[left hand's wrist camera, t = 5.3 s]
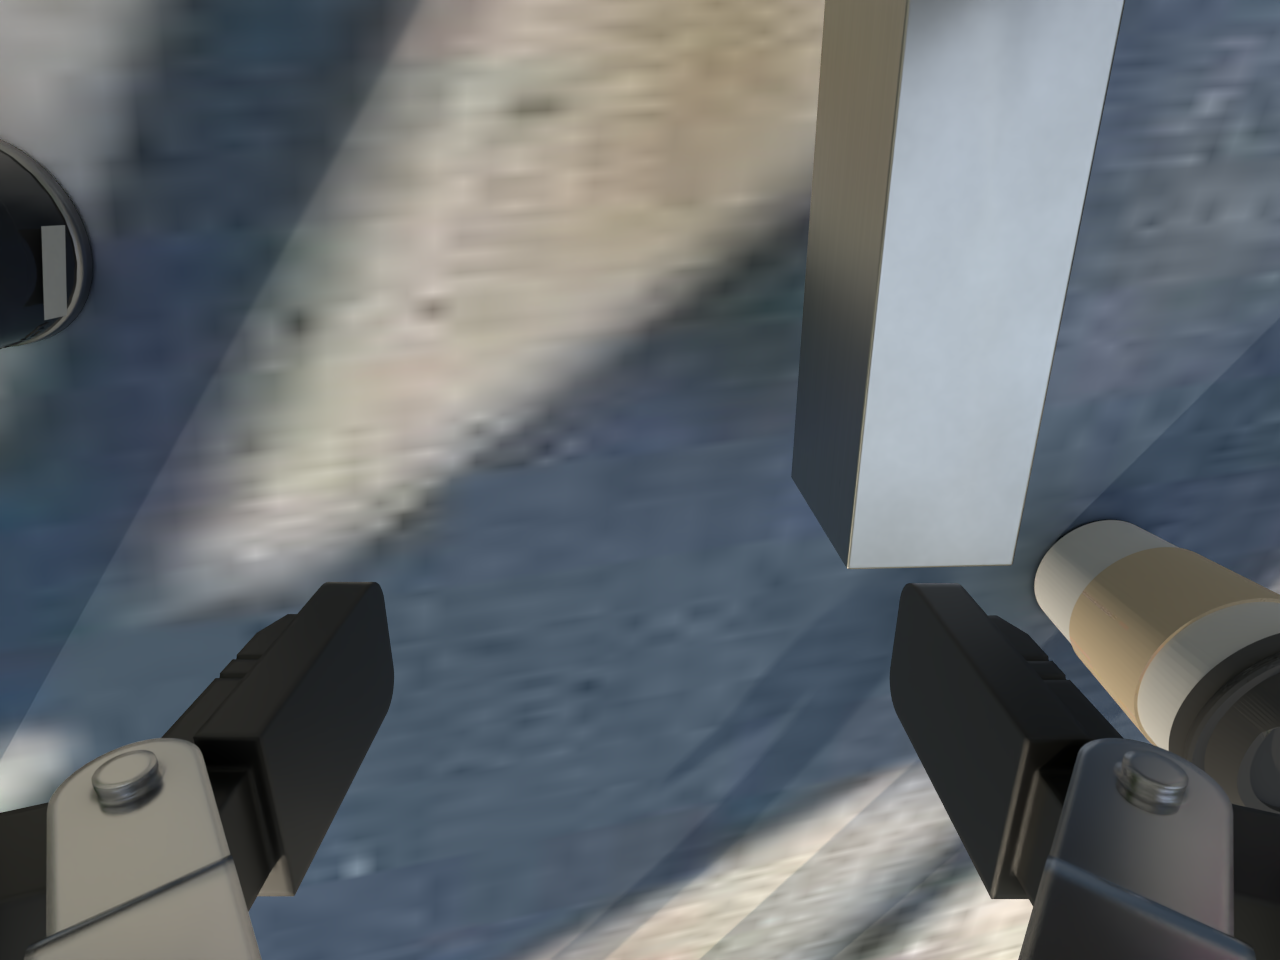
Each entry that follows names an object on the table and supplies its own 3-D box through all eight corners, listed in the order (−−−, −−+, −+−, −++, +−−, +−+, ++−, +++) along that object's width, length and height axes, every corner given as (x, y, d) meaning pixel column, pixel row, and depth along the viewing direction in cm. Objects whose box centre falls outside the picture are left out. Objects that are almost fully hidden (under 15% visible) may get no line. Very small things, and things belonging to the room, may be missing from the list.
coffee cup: (1196, 593, 42) (1484, 791, 28) (1049, 667, 44) (1252, 889, 30) (1146, 471, 39) (1438, 623, 25) (990, 554, 41) (1183, 741, 27)
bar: (917, 475, 31) (1013, 566, 23) (790, 478, 31) (846, 570, 23) (1015, -231, 22) (1216, -445, 15) (840, -231, 22) (954, -448, 15)
